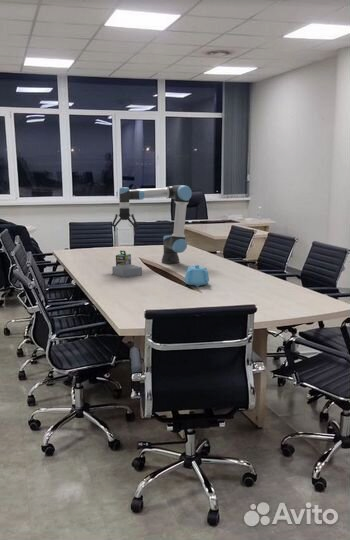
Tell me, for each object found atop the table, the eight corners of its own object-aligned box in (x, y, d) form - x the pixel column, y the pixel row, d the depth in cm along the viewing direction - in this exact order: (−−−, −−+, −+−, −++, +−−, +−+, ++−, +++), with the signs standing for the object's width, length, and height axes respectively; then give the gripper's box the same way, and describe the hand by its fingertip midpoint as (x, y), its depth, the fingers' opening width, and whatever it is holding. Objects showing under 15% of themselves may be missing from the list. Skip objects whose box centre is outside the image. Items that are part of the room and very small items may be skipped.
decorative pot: (183, 287, 324) (183, 267, 322) (185, 281, 340) (185, 262, 337) (208, 287, 323) (208, 267, 320) (209, 282, 338) (209, 263, 336)
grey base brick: (112, 274, 368) (112, 266, 367) (131, 272, 377) (130, 264, 376) (123, 277, 355) (122, 269, 354) (142, 275, 364) (141, 267, 363)
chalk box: (131, 268, 390) (131, 249, 387) (125, 270, 381) (125, 251, 379) (121, 267, 393) (121, 249, 391) (115, 269, 385) (115, 250, 382)
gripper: (107, 207, 374) (108, 235, 378) (140, 208, 372) (140, 236, 376) (109, 207, 381) (109, 234, 385) (141, 207, 379) (141, 235, 383)
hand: (124, 235), depth 380 cm, fingers open, 13 cm apart
